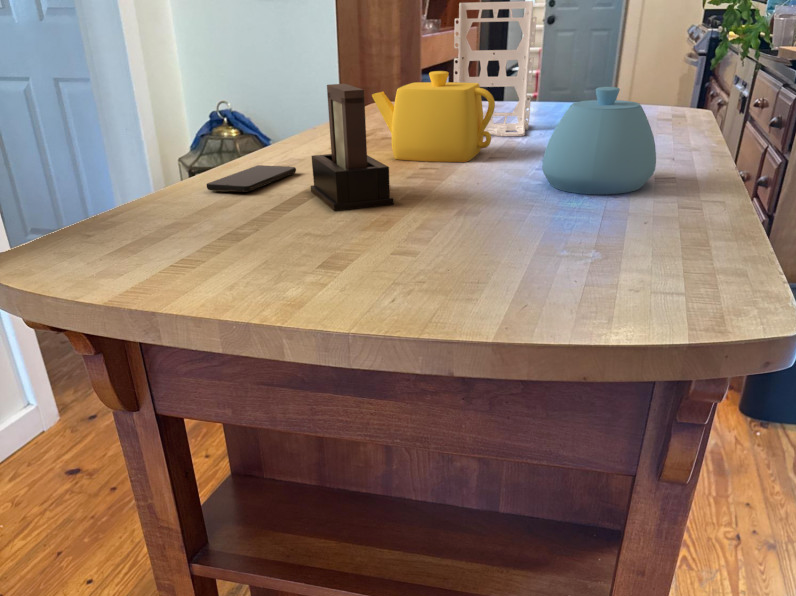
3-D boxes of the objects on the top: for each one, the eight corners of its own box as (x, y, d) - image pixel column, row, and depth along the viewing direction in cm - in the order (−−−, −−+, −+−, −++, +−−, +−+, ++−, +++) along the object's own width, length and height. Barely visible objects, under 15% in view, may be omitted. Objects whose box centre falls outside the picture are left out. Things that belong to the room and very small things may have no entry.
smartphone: (297, 166, 113) (247, 186, 101) (297, 173, 113) (248, 193, 102) (257, 164, 115) (204, 183, 103) (257, 171, 115) (205, 190, 104)
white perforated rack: (449, 136, 137) (451, 3, 125) (454, 125, 148) (457, 2, 136) (528, 136, 136) (538, 1, 124) (528, 125, 147) (536, 0, 135)
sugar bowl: (566, 169, 111) (576, 79, 104) (666, 179, 104) (683, 83, 98) (522, 189, 101) (529, 91, 94) (630, 201, 94) (646, 96, 88)
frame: (333, 186, 102) (326, 84, 95) (351, 184, 102) (345, 83, 95) (350, 198, 96) (344, 90, 89) (368, 196, 96) (364, 89, 89)
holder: (310, 191, 103) (307, 156, 100) (365, 186, 105) (364, 151, 102) (334, 211, 94) (331, 172, 91) (393, 204, 96) (392, 166, 93)
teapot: (363, 159, 121) (359, 74, 114) (387, 146, 130) (384, 67, 123) (484, 164, 116) (487, 75, 109) (499, 150, 125) (503, 67, 118)
